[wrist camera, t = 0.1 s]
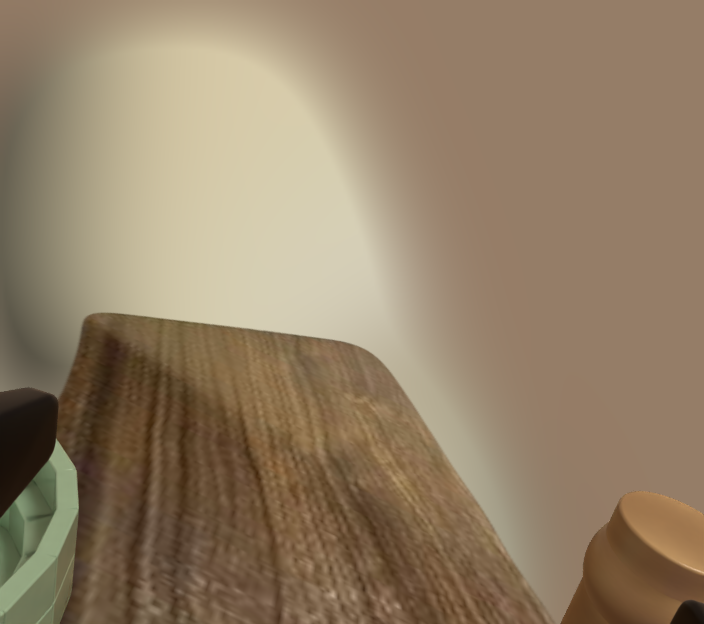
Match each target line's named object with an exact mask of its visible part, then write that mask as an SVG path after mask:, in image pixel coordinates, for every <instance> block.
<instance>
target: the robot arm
mask: <svg viewBox="0 0 704 624" xmlns="http://www.w3.org/2000/svg"><path fill="white" fill-rule="evenodd" d="M57 419H58V400H57V398H56V397H55V396H54V395H53V394H50V393H47V392H44V391H40V390H37V389H34V388H21V389H15V390H10V391H4V392H0V518H1V517H2V516H3V515H4V513H5V512H6V511H7V510H8V509H9V507H10V506H11V505H12V504H13V502H14V501H15V500H16V499H17V498H18V496H19V495H20V494H21V493H22V492H23V490H24V489H25V488H26V487H27V486H28V484H29V483H30V482H31V481H32V480H33V478H34V477H35V476H36V475H37V473H38V472H39V471H40V470H41V469H42V467H43V466H44V465H45V464H46V463H47V461H48V460H49V458H50V457H51V455H52V453H53V451H54V448H55V443H56V432H57ZM670 624H704V603H702V602H698V601H695V600H686V601H684V602H683V603H682V604H681V605H680V606H679V608H678V610H677V611H676V613H675V615H674V617H673V619H672V621H671V622H670Z"/></svg>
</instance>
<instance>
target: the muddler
mask: <svg viewBox="0 0 704 624" xmlns="http://www.w3.org/2000/svg"><path fill="white" fill-rule="evenodd" d="M686 600H695V601H698V602H702V603H704V514H702V513H701V512H699V511H697V510H695V509H694V508H692V507H690V506H688V505H686V504H684V503H682V502H680V501H677V500H675V499H672V498H670V497H666V496H663V495H660V494H656V493H651V492H644V491H635V492H630V493H627V494H625V495H624V496H623V497H622V498H621V499H620V500H619V502H618V504H617V506H616V508H615V510H614V513H613V515H612V517H611V519H610V521H609V522H608V523H607V524H605V525H604V526H603V527H602V528H601V529H600V530H599V531H598V532H597V533H596V534H595V535H594V537H593V538H592V540H591V542H590V544H589V546H588V548H587V550H586V553H585V557H584V563H583V578H582V580H581V582H580V584H579V586H578V588H577V590H576V593H575V594H574V597H573V599H572V601H571V603H570V605H569V607H568V609H567V611H566V613H565V615H564V617H563V619H562V622H561V624H670V622H671V621H672V619H673V617H674V615H675V613H676V611H677V610H678V608H679V606H680V605H681V604H682V603H683V602H684V601H686Z"/></svg>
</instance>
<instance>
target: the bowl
mask: <svg viewBox="0 0 704 624" xmlns="http://www.w3.org/2000/svg"><path fill="white" fill-rule="evenodd" d="M78 514H79V501H78V483H77V471H76V468H75V466H74V465H73V463H72V462H71V460H70V459H69V457H68V456H67V454H66V453H65V451H64V450H63V448H62V446H61V445H60V443H59V442H58V440H57V439H56V443H55V448H54V451H53V453H52V455H51V457H50V458H49V460H48V461H47V463H46V464H45V465H44V466H43V467H42V469H41V470H40V471H39V472H38V473H37V475H36V476H35V477H34V478H33V480H32V481H31V482H30V483H29V484H28V486H27V487H26V488H25V489H24V490H23V492H22V493H21V494H20V495H19V496H18V498H17V499H16V500H15V501H14V502H13V504H12V505H11V506H10V507H9V509H8V510H7V511H6V512H5V513H4V515H3V516H2V517H1V518H0V624H60V621H61V619H62V616H63V614H64V611H65V609H66V606H67V603H68V601H69V598H70V596H71V591H72V582H73V571H74V559H75V548H76V536H77V525H78Z"/></svg>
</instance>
